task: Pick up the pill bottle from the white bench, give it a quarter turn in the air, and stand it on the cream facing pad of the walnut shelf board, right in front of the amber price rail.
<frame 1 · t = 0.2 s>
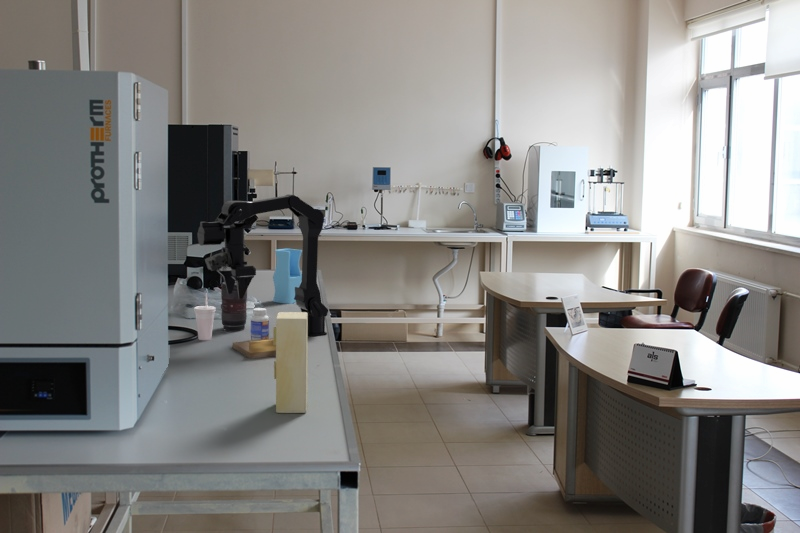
hand: (235, 296, 236), 14 cm above the lab bench, tool pointing down, fingers open, 9 cm apart
vase: (287, 301, 308), on the lab bench
smoothie: (204, 339, 241), on the lab bench
pill bottle: (259, 341, 240), on the lab bench
shelf board: (266, 350, 229), on the lab bench
toy refrigerator: (290, 408, 177), on the lab bench
camera lens: (234, 329, 256), on the lab bench
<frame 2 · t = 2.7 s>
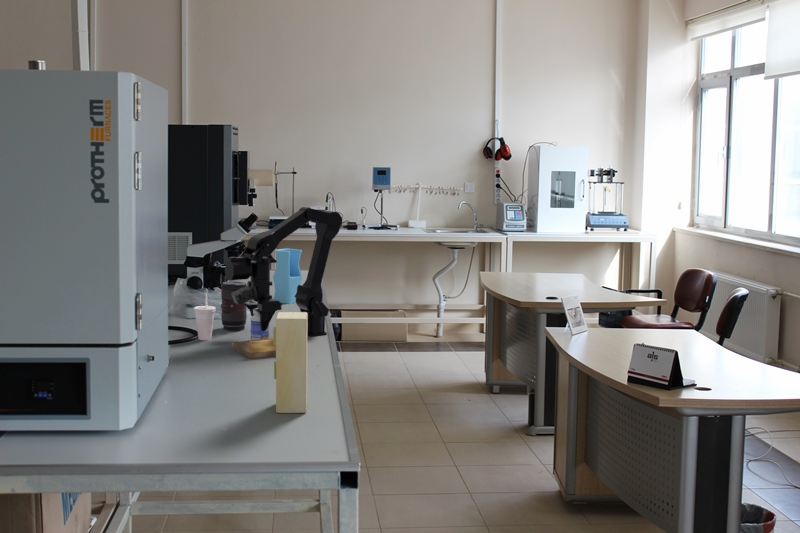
hand: (259, 329, 240), 4 cm above the lab bench, tool pointing down, fingers closed on pill bottle, 5 cm apart
pill bottle: (259, 341, 240), on the lab bench, touching gripper
everything else where it was.
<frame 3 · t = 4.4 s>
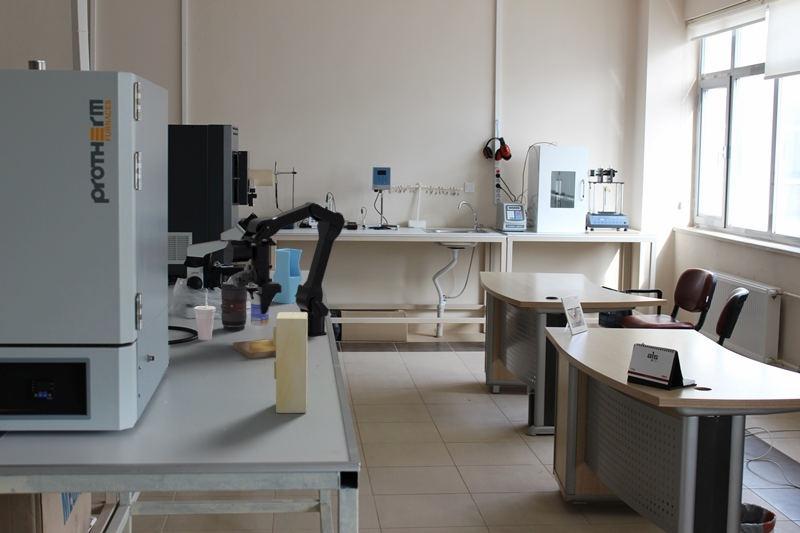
hand: (259, 312, 239), 9 cm above the lab bench, tool pointing down, fingers closed on pill bottle, 5 cm apart
pill bottle: (259, 324, 240), point 5 cm above the lab bench, touching gripper
everything else where it was.
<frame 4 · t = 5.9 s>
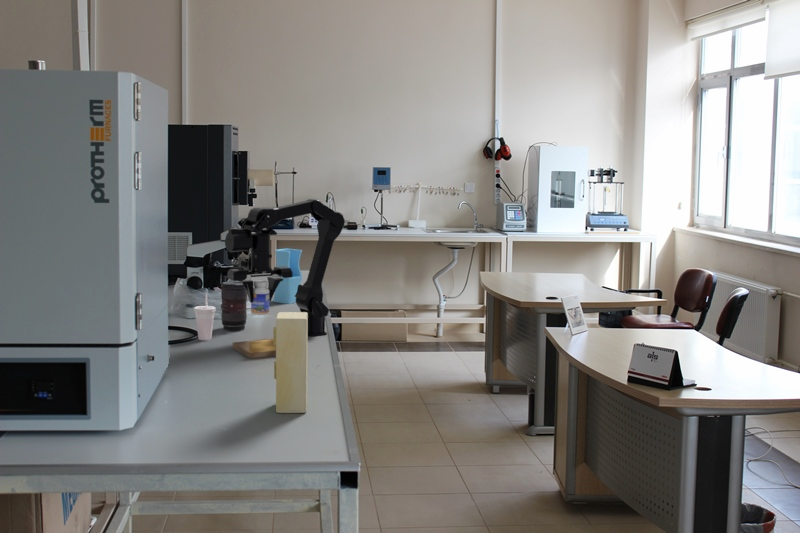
hand: (260, 301, 239), 12 cm above the lab bench, tool pointing down, fingers closed on pill bottle, 5 cm apart
pill bottle: (260, 314, 239), point 8 cm above the lab bench, touching gripper
everything else where it was.
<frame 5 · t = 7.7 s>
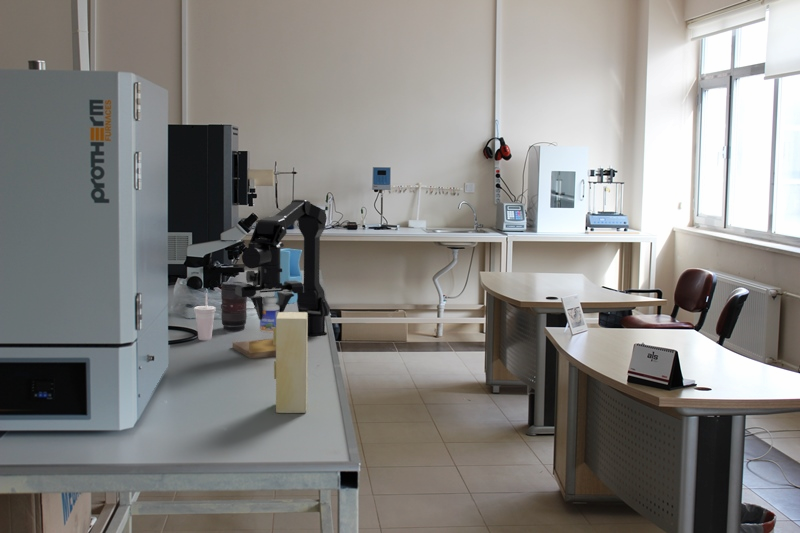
hand: (269, 318, 225), 10 cm above the lab bench, tool pointing down, fingers closed on pill bottle, 5 cm apart
pill bottle: (269, 331, 226), point 6 cm above the lab bench, touching gripper
everything else where it was.
when the fingers open (6 cm above the lab bench, at t = 9.3 s): pill bottle stays where it is, resting on shelf board.
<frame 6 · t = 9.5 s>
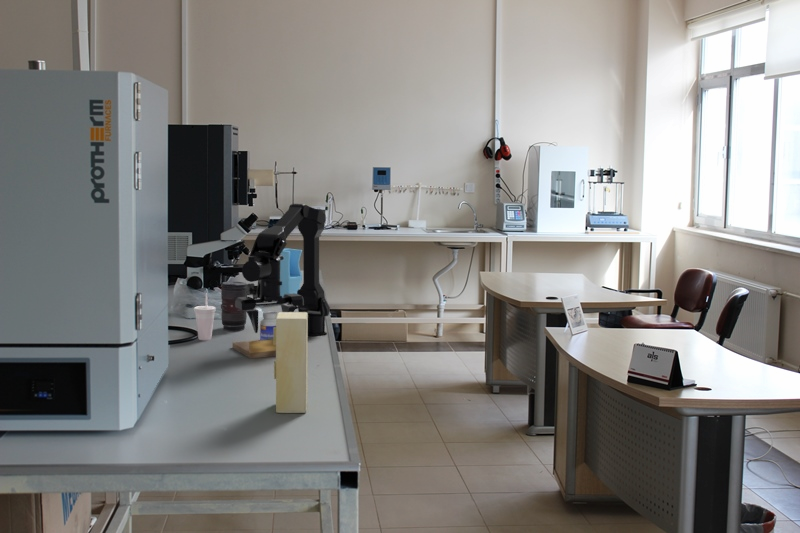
hand: (269, 331, 226), 6 cm above the lab bench, tool pointing down, fingers open, 8 cm apart
pill bottle: (269, 346, 227), point 2 cm above the lab bench, touching shelf board
everything else where it was.
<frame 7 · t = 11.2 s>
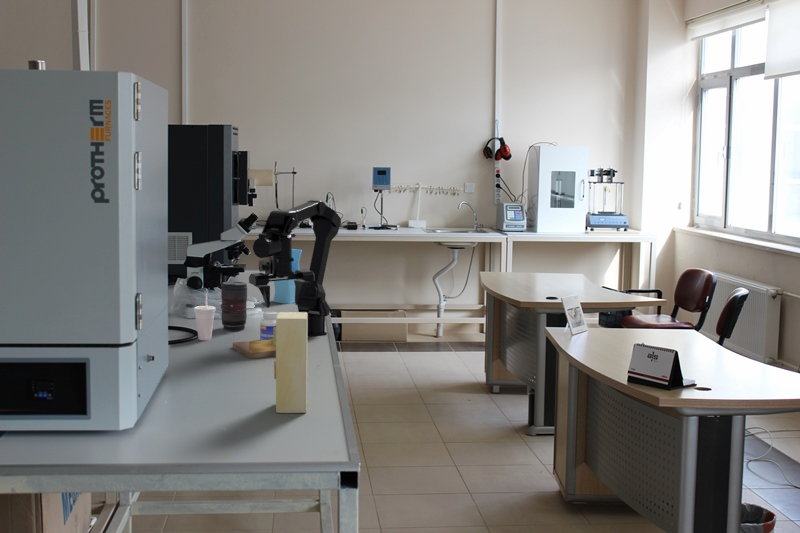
hand: (282, 306, 235), 12 cm above the lab bench, tool pointing down, fingers open, 9 cm apart
nothing on the lab bench moved.
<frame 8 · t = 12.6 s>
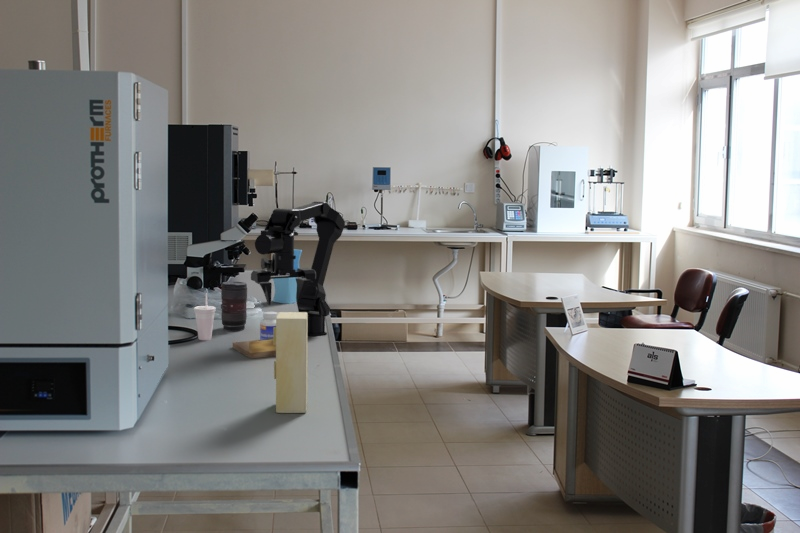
hand: (283, 303, 236), 12 cm above the lab bench, tool pointing down, fingers open, 9 cm apart
nothing on the lab bench moved.
at the end: pill bottle 0.1 cm from the target spot on the shelf board, point 1.5 cm above the shelf board's base; pill bottle tilted 0°; the gripper is holding nothing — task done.
